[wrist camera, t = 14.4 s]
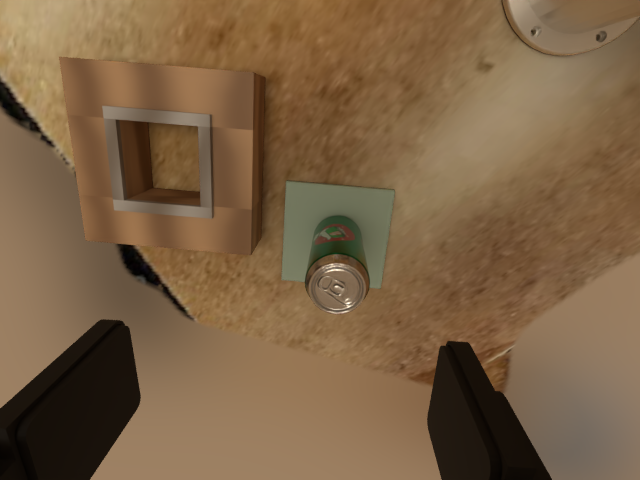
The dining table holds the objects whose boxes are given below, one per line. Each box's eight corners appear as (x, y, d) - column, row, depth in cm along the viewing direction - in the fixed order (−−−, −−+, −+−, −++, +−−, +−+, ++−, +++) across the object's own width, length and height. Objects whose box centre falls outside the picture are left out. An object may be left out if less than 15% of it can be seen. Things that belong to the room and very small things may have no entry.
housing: (265, 77, 35) (252, 71, 29) (261, 237, 40) (249, 257, 35) (96, 63, 35) (53, 55, 30) (115, 225, 40) (81, 242, 35)
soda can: (346, 266, 40) (350, 329, 29) (305, 245, 39) (292, 301, 28) (370, 227, 38) (383, 277, 27) (327, 205, 38) (323, 246, 27)
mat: (394, 189, 38) (395, 190, 37) (380, 286, 41) (380, 288, 41) (286, 180, 38) (286, 181, 37) (282, 277, 41) (281, 279, 41)
